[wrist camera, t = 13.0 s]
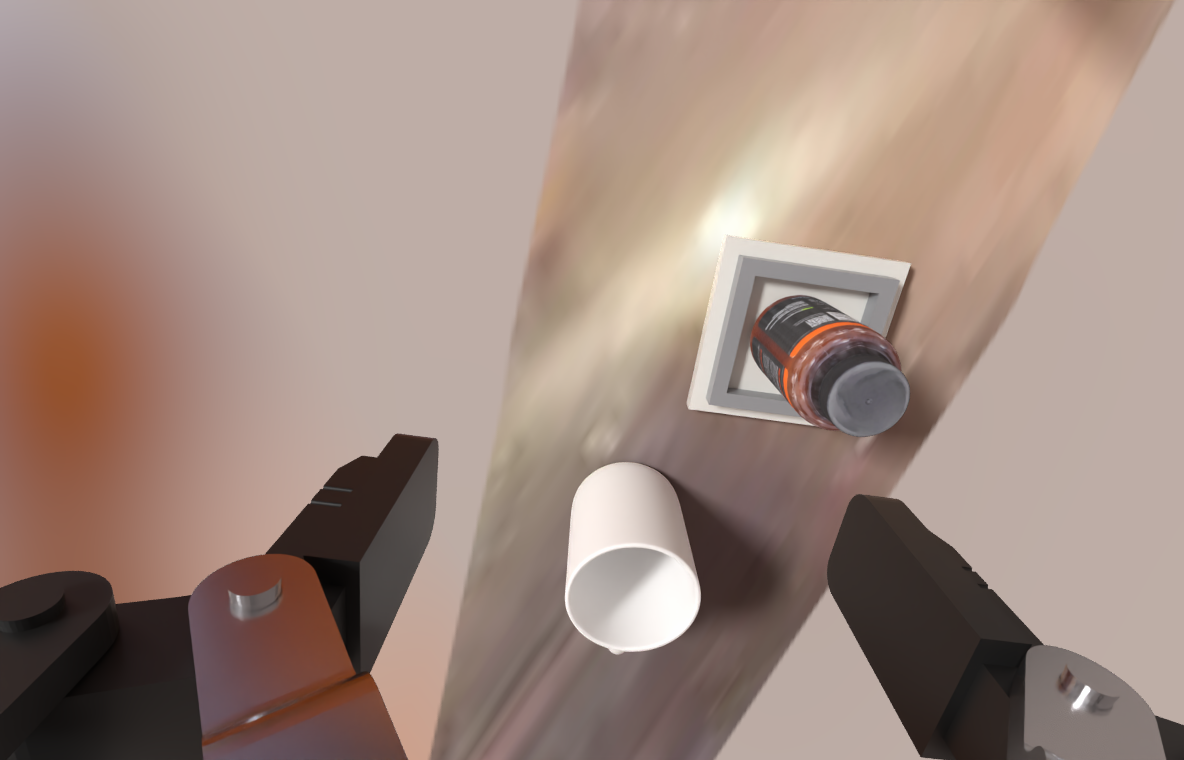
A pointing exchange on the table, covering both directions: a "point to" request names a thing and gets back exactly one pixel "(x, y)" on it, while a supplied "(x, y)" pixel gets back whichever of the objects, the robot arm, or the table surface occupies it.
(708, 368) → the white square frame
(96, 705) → the robot arm
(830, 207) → the table surface
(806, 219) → the table surface
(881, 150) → the table surface
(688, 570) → the mug
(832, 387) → the supplement bottle
